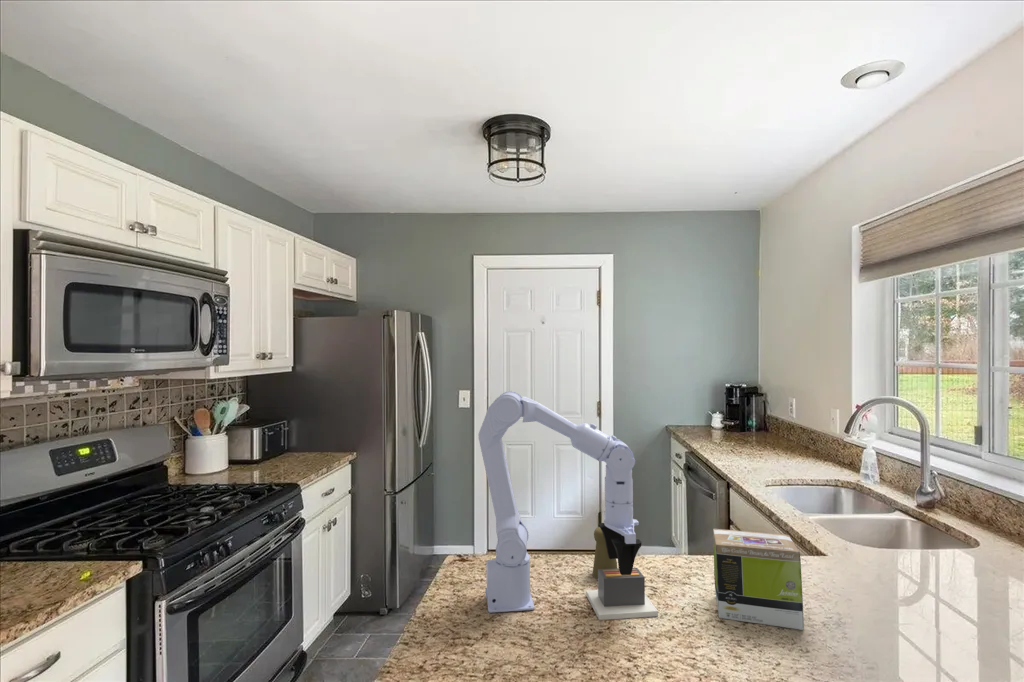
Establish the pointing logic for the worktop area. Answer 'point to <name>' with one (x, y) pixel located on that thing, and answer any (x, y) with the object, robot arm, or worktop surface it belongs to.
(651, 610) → the header board
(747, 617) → the tea box
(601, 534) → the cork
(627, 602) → the block
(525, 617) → the worktop surface
